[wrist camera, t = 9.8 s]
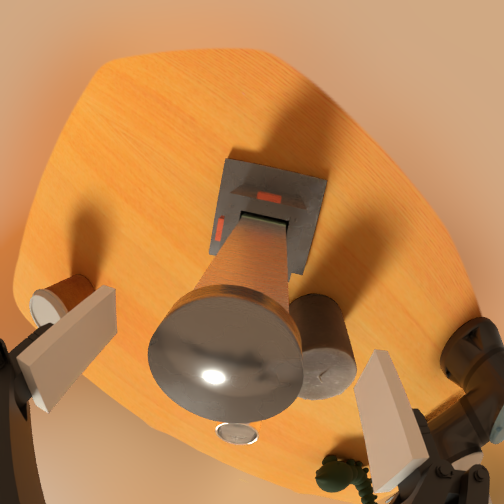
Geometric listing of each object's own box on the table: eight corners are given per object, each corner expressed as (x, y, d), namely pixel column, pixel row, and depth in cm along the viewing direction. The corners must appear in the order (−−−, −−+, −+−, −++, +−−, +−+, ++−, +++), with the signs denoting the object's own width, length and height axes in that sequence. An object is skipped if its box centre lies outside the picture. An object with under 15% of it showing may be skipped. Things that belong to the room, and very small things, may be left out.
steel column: (296, 209, 32) (326, 329, 9) (283, 260, 34) (279, 433, 12) (240, 196, 32) (148, 288, 10) (230, 249, 34) (149, 401, 12)
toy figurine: (377, 459, 61) (327, 444, 56) (389, 509, 44) (336, 509, 38) (352, 472, 64) (298, 457, 59) (360, 520, 46) (303, 519, 41)
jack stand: (325, 179, 38) (343, 188, 27) (301, 271, 43) (307, 311, 32) (227, 158, 39) (205, 158, 27) (211, 250, 43) (187, 283, 32)
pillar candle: (310, 281, 43) (320, 339, 29) (353, 315, 44) (374, 376, 30) (271, 322, 46) (263, 386, 32) (313, 352, 48) (319, 416, 33)
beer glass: (235, 353, 49) (219, 416, 35) (271, 364, 49) (266, 428, 35) (225, 378, 51) (209, 438, 37) (260, 388, 51) (252, 449, 37)
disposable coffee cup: (85, 260, 47) (45, 286, 35) (109, 304, 49) (74, 338, 38) (58, 274, 48) (20, 299, 37) (80, 314, 51) (47, 345, 40)
